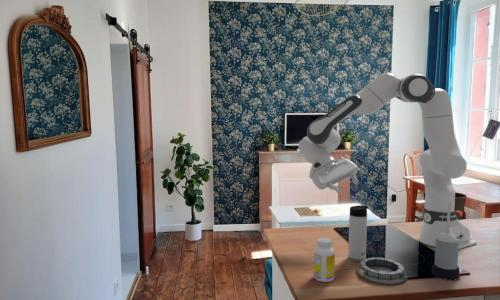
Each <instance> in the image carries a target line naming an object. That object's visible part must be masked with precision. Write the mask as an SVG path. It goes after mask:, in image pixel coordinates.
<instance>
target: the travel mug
mask: <svg viewBox="0 0 500 300" xmlns="http://www.w3.org/2000/svg"><path fill="white" fill-rule="evenodd" d="M368 209H369V206H368V205H353V206H350V208H349V219H348V223H349V225H348V227H349V228H348V259H349V260H350V261H352V260H353V262H358V263H361V261H362V260H364V259H366V258H367V233H368V229H367V228H368Z"/></svg>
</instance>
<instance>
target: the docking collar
mask: <svg viewBox="0 0 500 300" xmlns="http://www.w3.org/2000/svg"><path fill="white" fill-rule="evenodd" d="M359 263H360V264H358V265H357V266H356V274H357V275H358V276H359V277H360V278H361V279H364V280H365V281H368V282H369V283H374V284H376V285H377V284H379V285H385V286H393V285H394V286H395V285H400V284H404V283H405V282H407V280H408V273H407V271H406V270H405V268H404V265H402V263H399V262H398V261H395V260H393V259H389V258H385V257H376V256H375V257H368V258H367V257H366V259H364V260H362V261H361V262H359Z"/></svg>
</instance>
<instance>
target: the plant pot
mask: <svg viewBox="0 0 500 300" xmlns="http://www.w3.org/2000/svg"><path fill="white" fill-rule="evenodd" d="M467 197H468V196H467V195H466V194H464V193H461V192H456V191H455V206H454V210H455V211H461V212H462V213H464V210H465V205H466V202H467ZM457 218H458V220H459V221H460V222H461V218H462V216H458V215H457Z"/></svg>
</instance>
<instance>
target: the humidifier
mask: <svg viewBox="0 0 500 300" xmlns="http://www.w3.org/2000/svg"><path fill="white" fill-rule="evenodd" d="M443 212H444V208H443ZM450 213H451V202H450V201H449V205H448V214H447V228H446V231H445V232H442V233H440V234H438V235H437V237H436V244H435V248H434V249H435V251H434V262H433V263H432V266H431V274H432V275H433V277H436V278H438V279H442V280H445V279H446V280H445V281H456V280H455V279H457V280H459V279H460V278H461V276H462V275H461V273H460V268H459V266H458V264H459V263H458V260H459V249H458V246H459V242H458V239H457V237H456V236H455V235H454V234H452V233H451V232H450V230H449V229H450ZM443 216H444V215H443ZM442 218H443V217H442ZM442 221H443V219H442ZM442 231H443V225H442ZM458 278H459V279H458Z"/></svg>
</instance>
